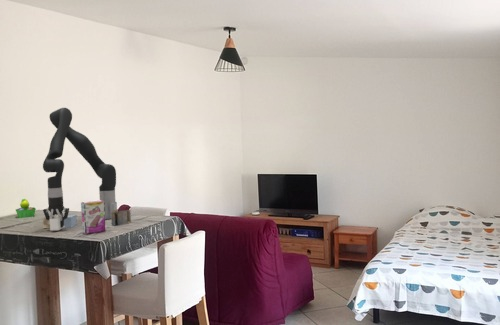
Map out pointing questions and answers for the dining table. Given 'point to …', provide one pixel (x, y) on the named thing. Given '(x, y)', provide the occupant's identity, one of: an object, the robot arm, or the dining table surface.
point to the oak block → (46, 222)
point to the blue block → (70, 221)
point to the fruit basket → (25, 209)
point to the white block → (55, 224)
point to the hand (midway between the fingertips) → (57, 227)
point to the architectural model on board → (121, 217)
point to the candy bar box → (93, 216)
